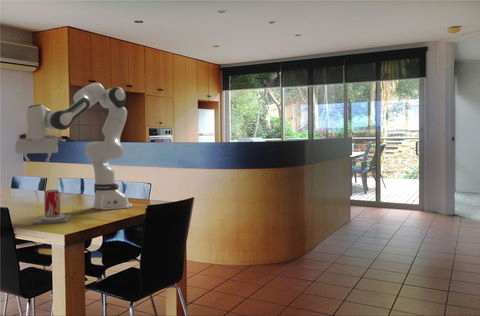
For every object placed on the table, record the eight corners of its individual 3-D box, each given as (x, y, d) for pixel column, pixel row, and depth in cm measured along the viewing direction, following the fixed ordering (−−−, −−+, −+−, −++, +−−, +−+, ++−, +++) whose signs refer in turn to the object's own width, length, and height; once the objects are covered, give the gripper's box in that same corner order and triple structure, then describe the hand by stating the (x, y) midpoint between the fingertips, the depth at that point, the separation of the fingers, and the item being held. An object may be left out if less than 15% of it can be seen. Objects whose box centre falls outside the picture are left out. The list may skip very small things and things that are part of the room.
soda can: (41, 216, 211) (40, 191, 211) (54, 214, 217) (53, 189, 217) (50, 218, 208) (49, 192, 207) (63, 215, 214) (62, 190, 213)
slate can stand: (71, 216, 222) (71, 212, 221) (66, 222, 207) (66, 218, 207) (40, 218, 218) (40, 214, 218) (33, 224, 203) (33, 220, 203)
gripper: (59, 135, 225) (60, 161, 226) (17, 135, 220) (18, 161, 221) (56, 135, 219) (57, 161, 220) (13, 135, 214) (15, 162, 215)
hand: (37, 161), depth 221 cm, fingers open, 8 cm apart
